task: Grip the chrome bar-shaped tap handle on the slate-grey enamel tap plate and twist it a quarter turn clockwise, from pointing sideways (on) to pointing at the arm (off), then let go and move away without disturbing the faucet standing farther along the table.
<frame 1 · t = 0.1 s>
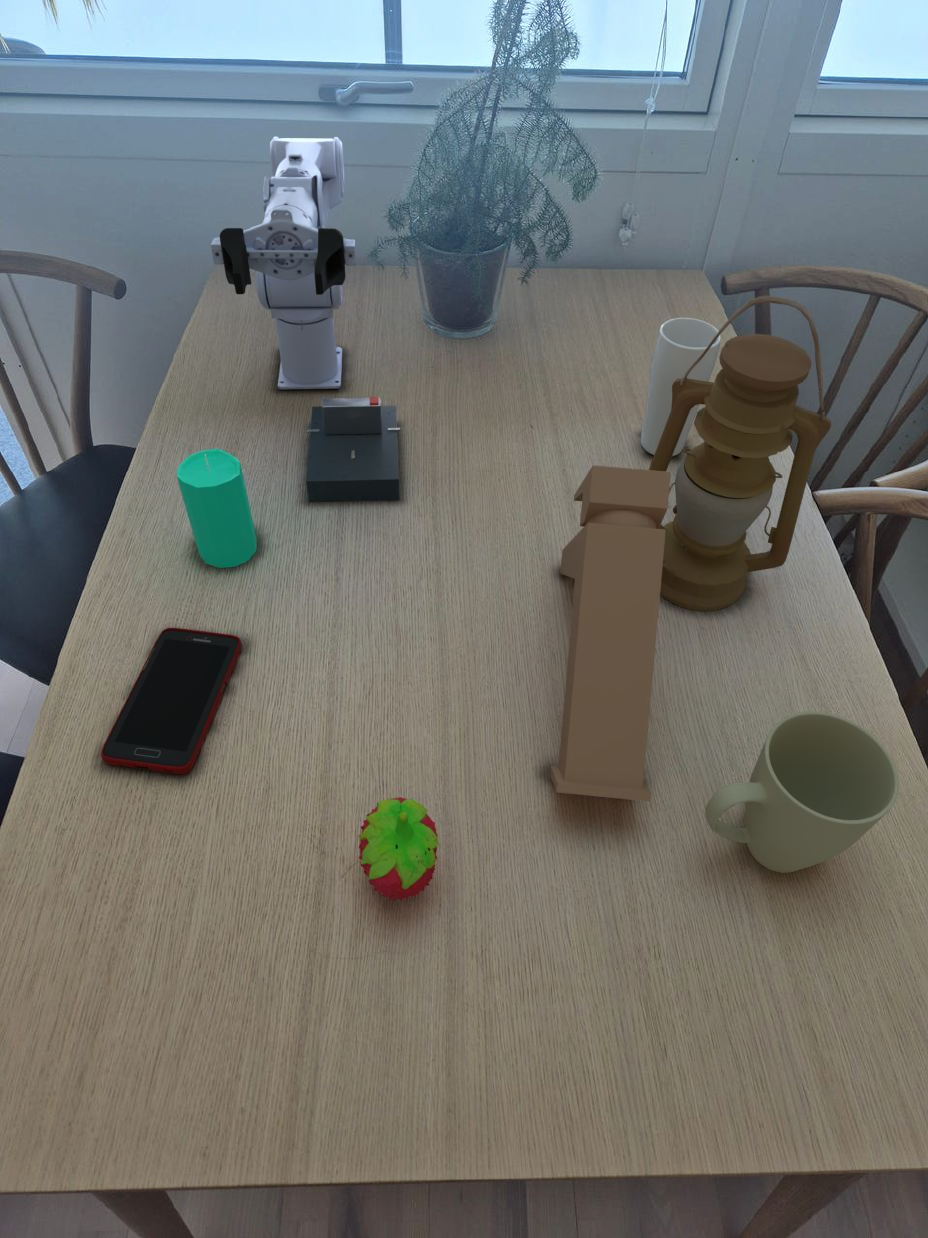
hand: (278, 284, 80), 22 cm above the table, tool horizontal, fingers open, 7 cm apart
mug: (765, 850, 66), on the table
tap handle: (352, 415, 94), point 5 cm above the table, hinge at 90.0°
lantern: (694, 575, 86), on the table
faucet: (590, 680, 76), on the table
strawberry: (400, 877, 63), on the table
white cup: (660, 447, 101), on the table
tap plate: (355, 462, 96), on the table
candle: (228, 549, 86), on the table
cell phone: (177, 700, 73), on the table
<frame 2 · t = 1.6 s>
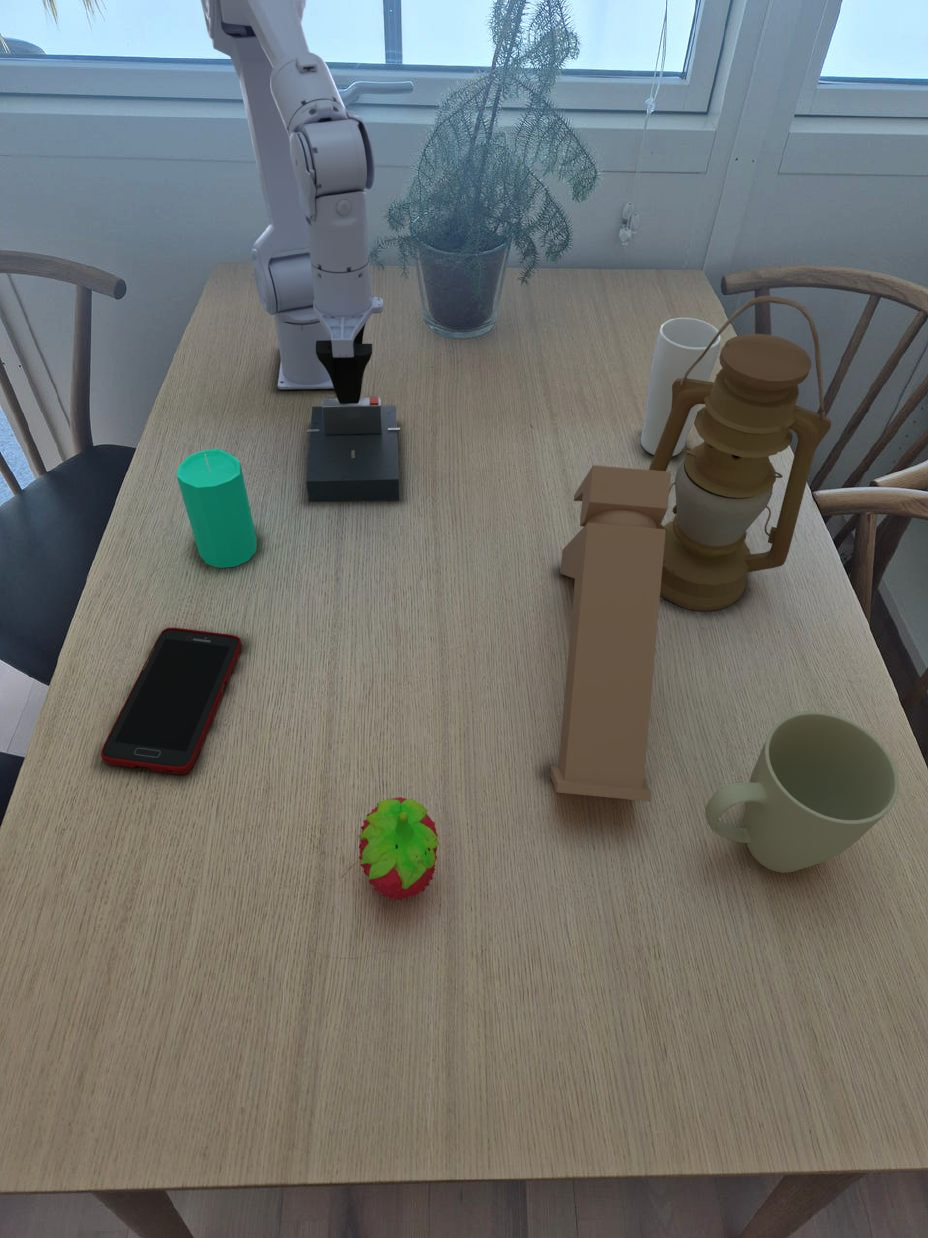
hand: (349, 381, 91), 9 cm above the table, tool pointing down, fingers open, 7 cm apart
nothing on the table moved.
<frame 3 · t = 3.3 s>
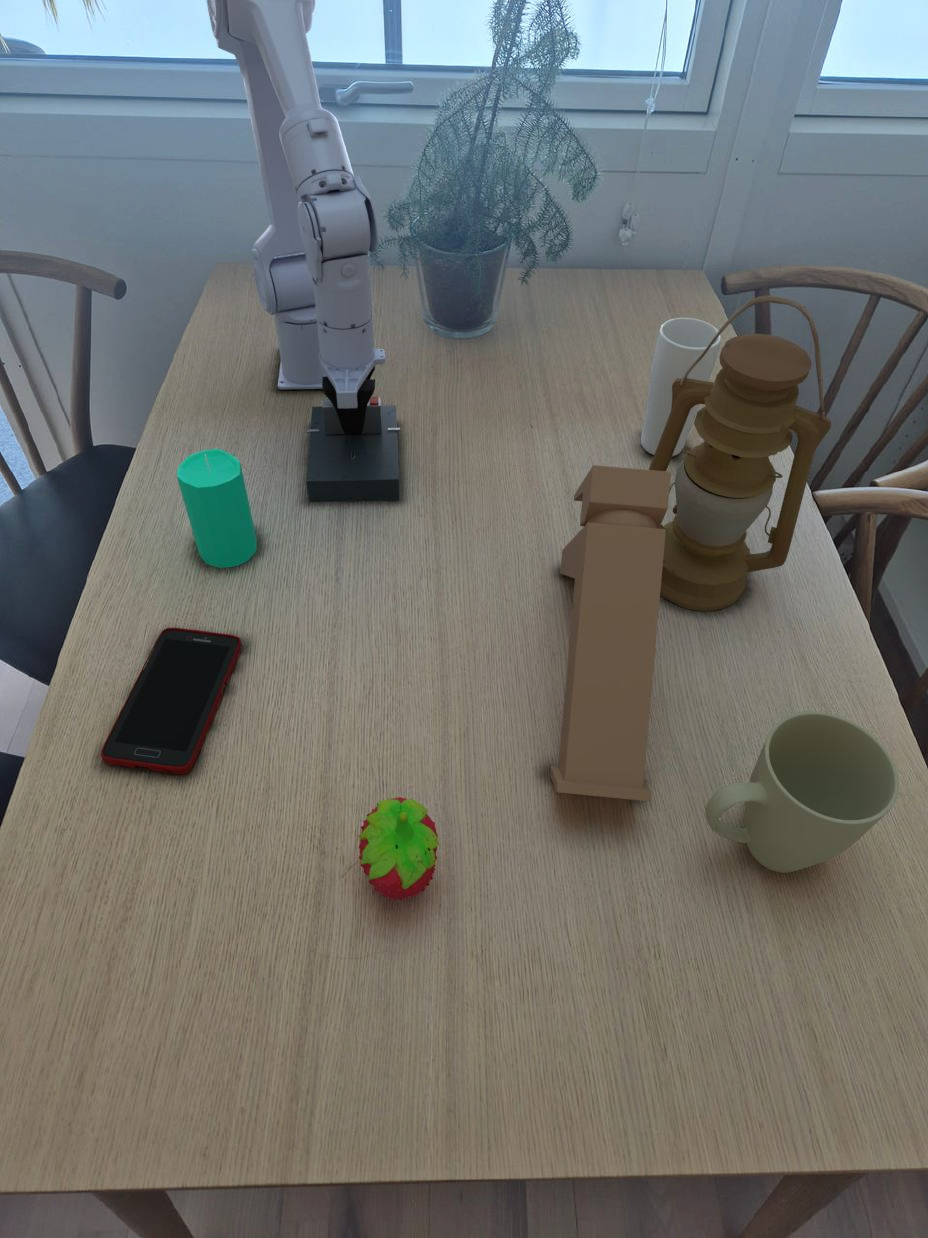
hand: (353, 426, 95), 4 cm above the table, tool pointing down, fingers closed on tap handle, 2 cm apart
tap handle: (352, 415, 94), point 5 cm above the table, hinge at 90.0°, touching gripper
everything else where it was.
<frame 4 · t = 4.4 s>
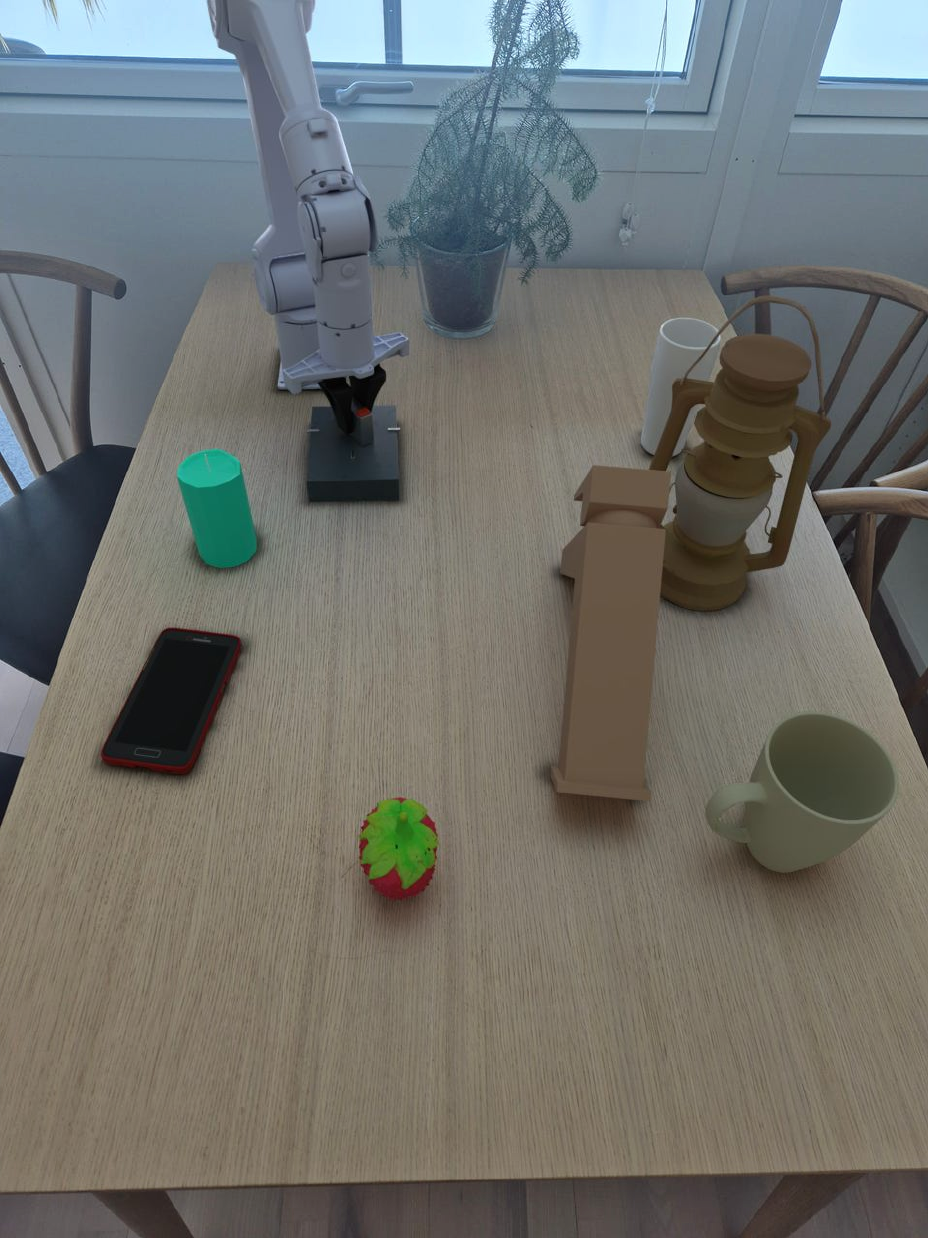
hand: (353, 426, 95), 4 cm above the table, tool pointing down, fingers closed on tap handle, 2 cm apart
tap handle: (352, 415, 94), point 5 cm above the table, hinge at 31.5°, touching gripper
everything else where it was.
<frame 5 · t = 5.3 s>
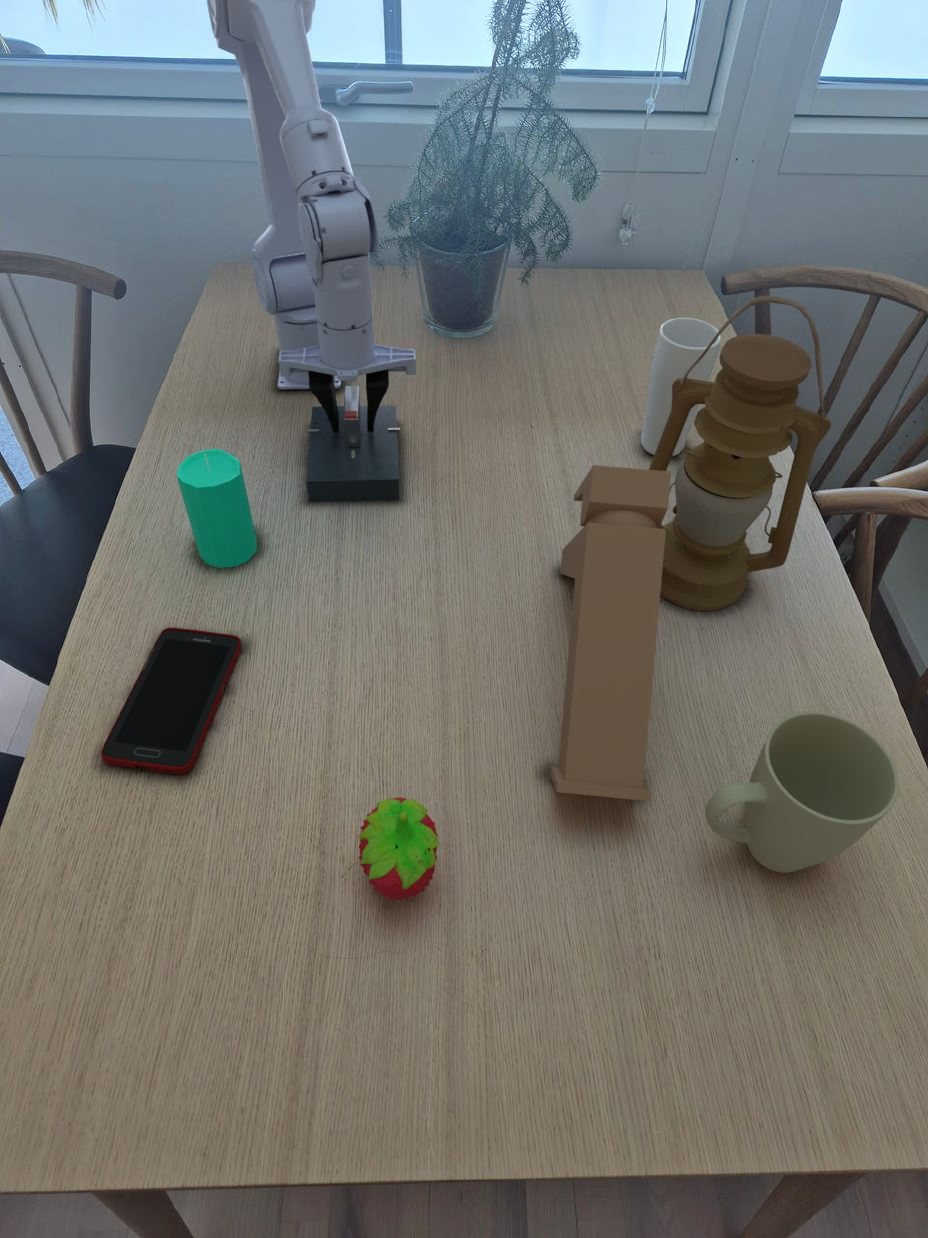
hand: (353, 426, 95), 4 cm above the table, tool pointing down, fingers open, 3 cm apart
tap handle: (352, 415, 94), point 5 cm above the table, hinge at 0.2°
everything else where it was.
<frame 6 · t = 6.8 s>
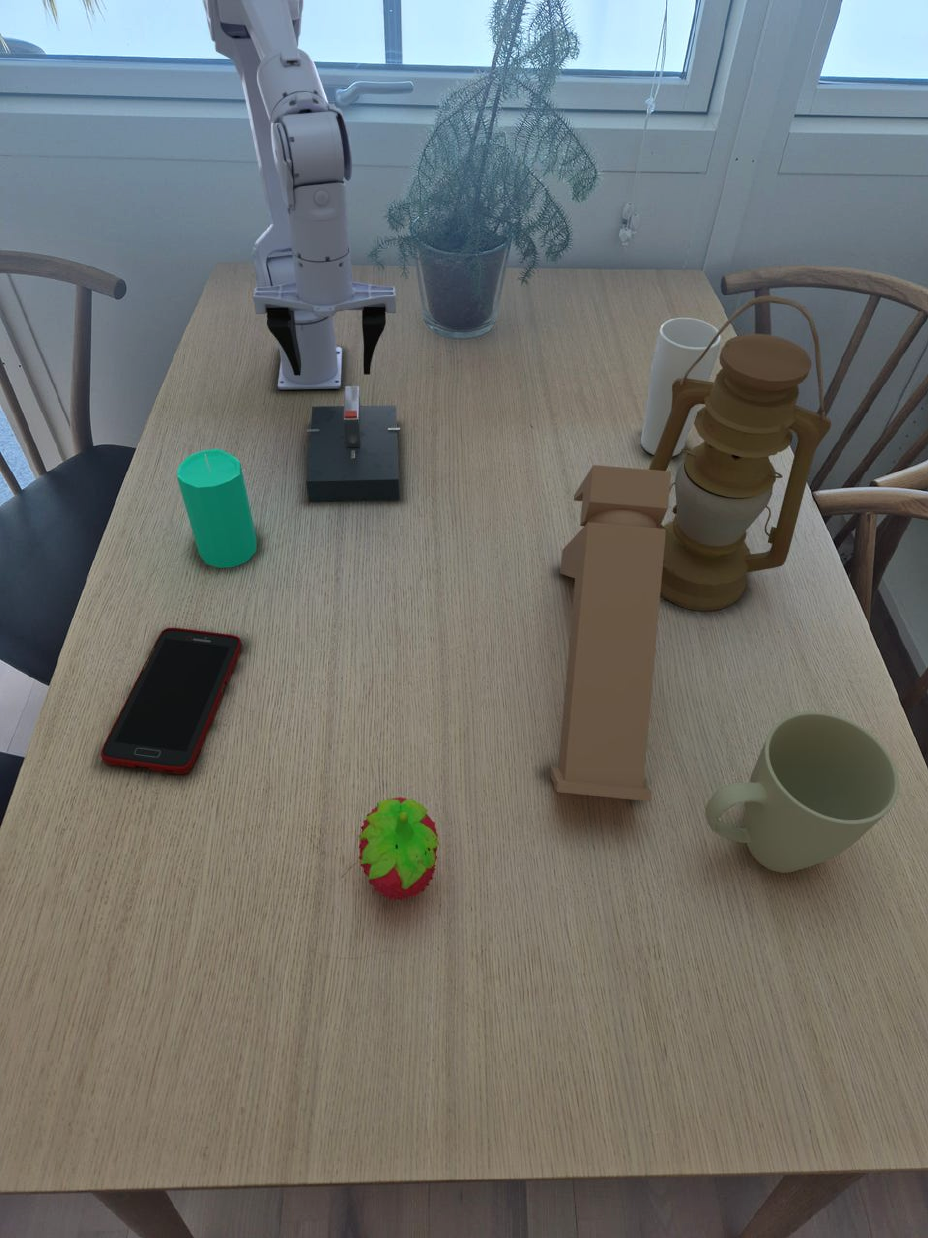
hand: (332, 370, 92), 9 cm above the table, tool pointing down, fingers open, 7 cm apart
nothing on the table moved.
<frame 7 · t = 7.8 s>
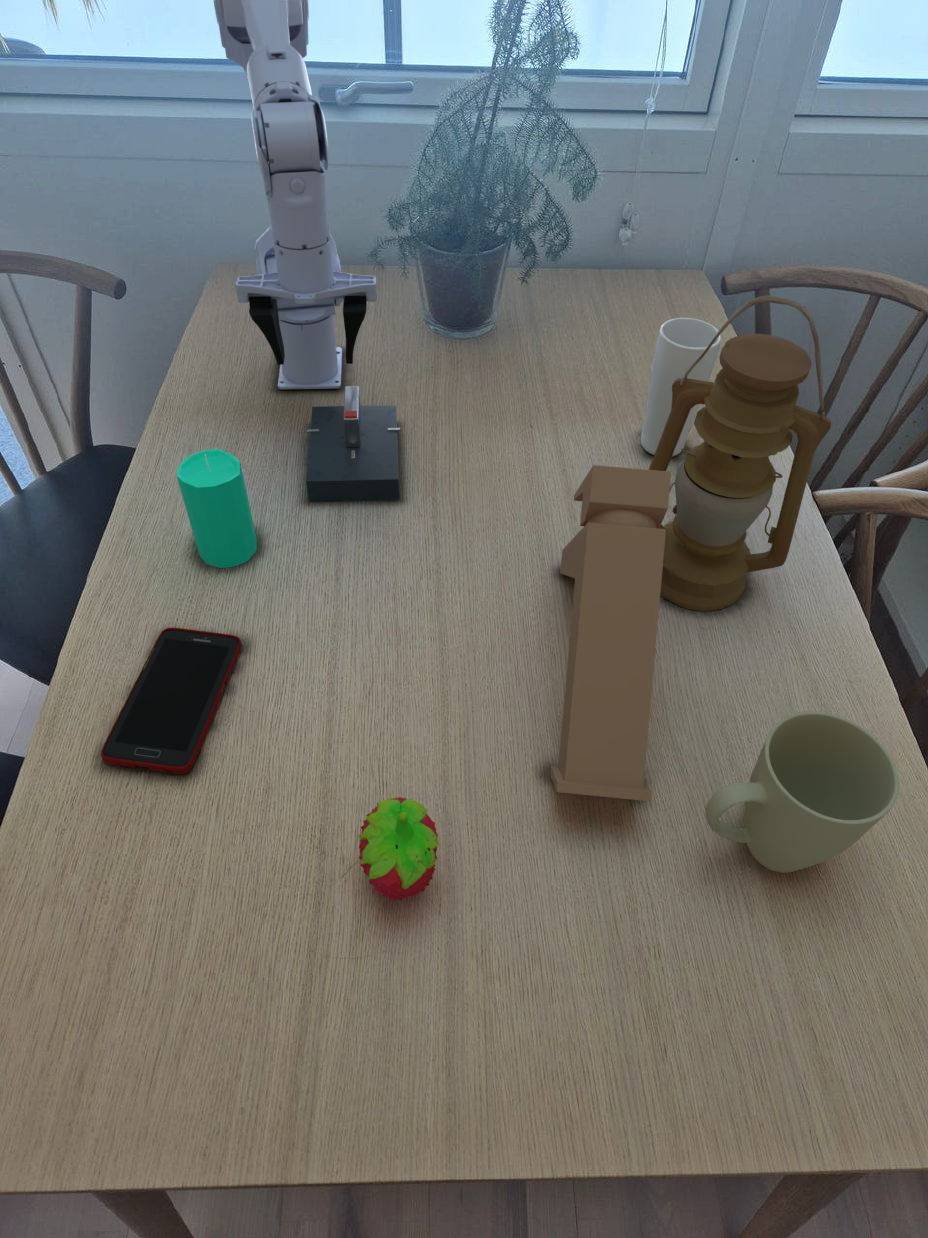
hand: (315, 359, 93), 9 cm above the table, tool pointing down, fingers open, 7 cm apart
nothing on the table moved.
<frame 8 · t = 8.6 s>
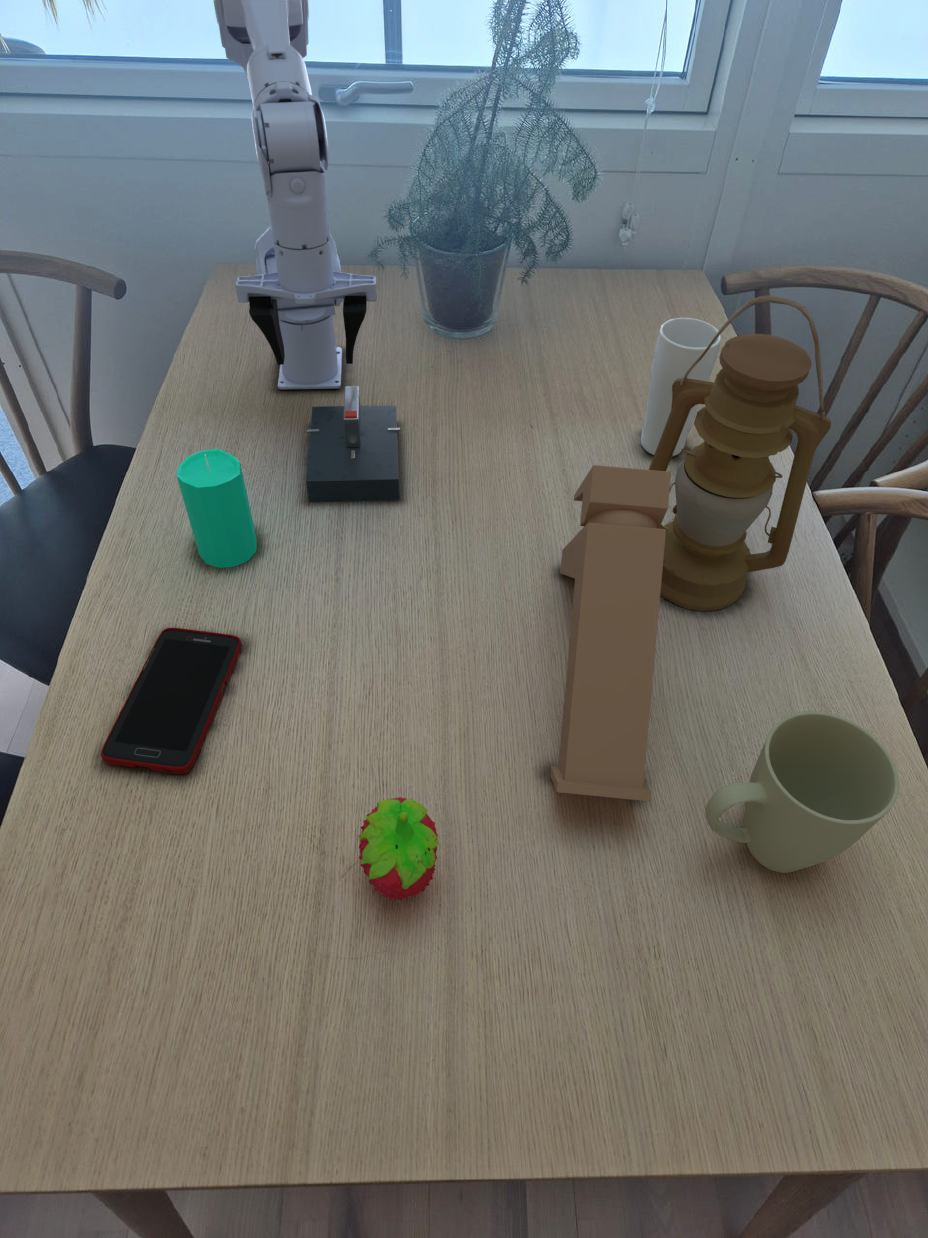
hand: (315, 359, 93), 9 cm above the table, tool pointing down, fingers open, 7 cm apart
nothing on the table moved.
at the end: tap handle at +0° (first picture: +90°); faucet moved 0.2 cm from its start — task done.
